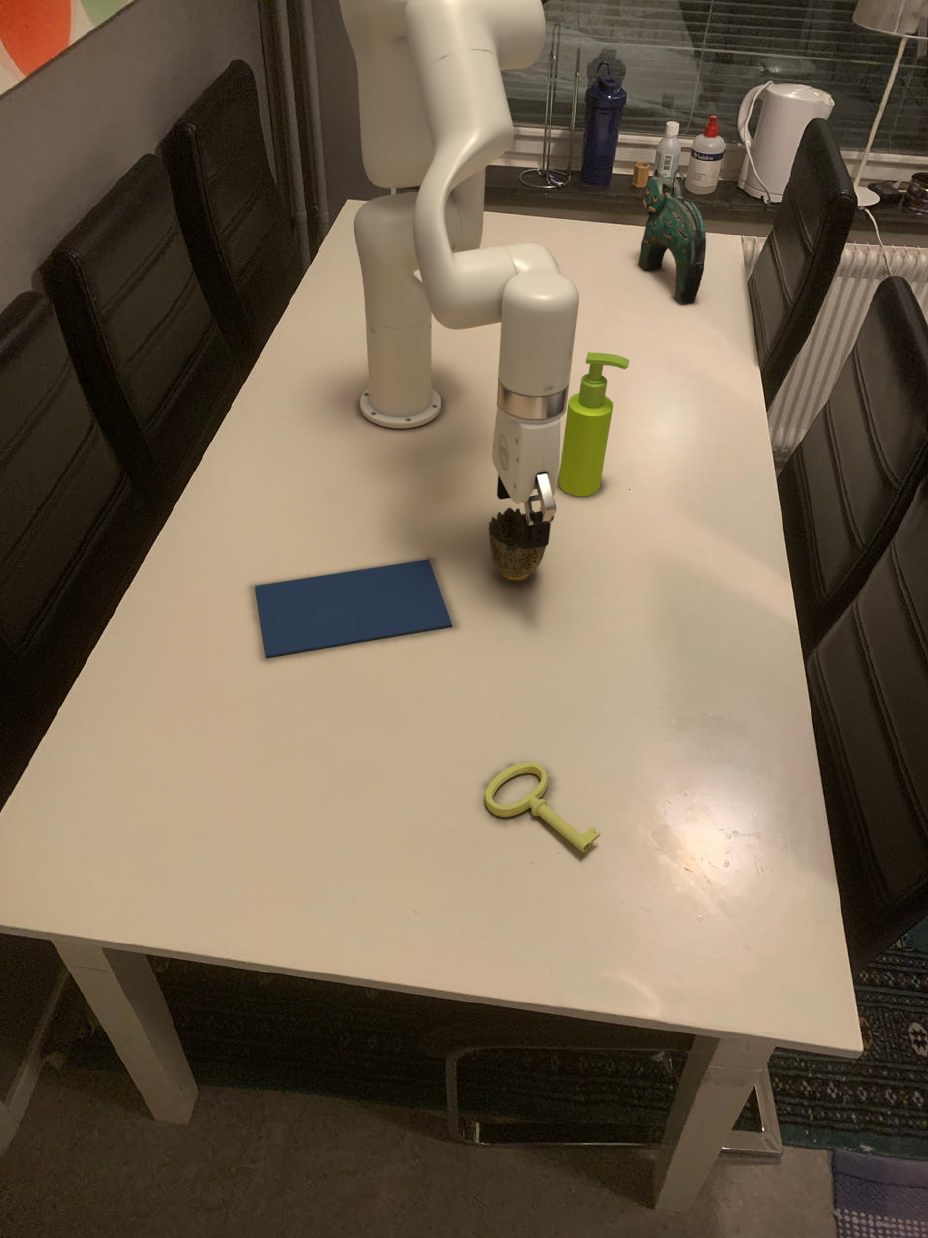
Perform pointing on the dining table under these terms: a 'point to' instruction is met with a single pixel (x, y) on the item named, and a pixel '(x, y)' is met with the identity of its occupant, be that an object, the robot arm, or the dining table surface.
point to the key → (536, 804)
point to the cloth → (350, 607)
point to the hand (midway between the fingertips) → (521, 520)
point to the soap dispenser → (588, 429)
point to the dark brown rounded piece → (512, 546)
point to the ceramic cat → (673, 235)
